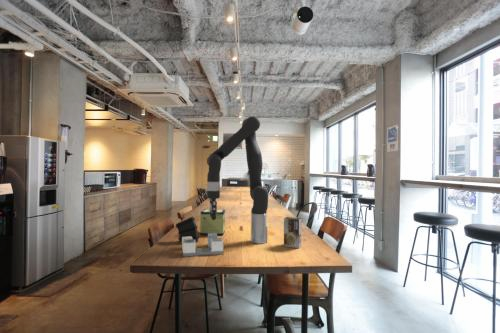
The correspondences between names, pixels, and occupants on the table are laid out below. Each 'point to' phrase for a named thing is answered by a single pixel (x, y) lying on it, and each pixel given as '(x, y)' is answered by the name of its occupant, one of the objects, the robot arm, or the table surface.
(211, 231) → the protein box
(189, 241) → the grey notched bar
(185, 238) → the block
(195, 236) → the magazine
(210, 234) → the block
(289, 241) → the coffee box
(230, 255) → the table surface
